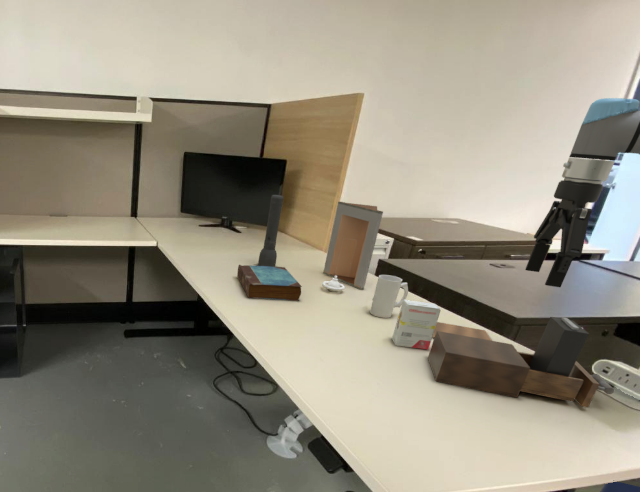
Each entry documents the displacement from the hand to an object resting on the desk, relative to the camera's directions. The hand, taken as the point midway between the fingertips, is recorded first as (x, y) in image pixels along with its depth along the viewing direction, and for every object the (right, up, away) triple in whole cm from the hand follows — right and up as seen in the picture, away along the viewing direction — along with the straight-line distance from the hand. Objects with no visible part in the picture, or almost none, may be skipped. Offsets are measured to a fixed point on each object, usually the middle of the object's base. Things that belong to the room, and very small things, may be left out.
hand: (541, 278), depth 107 cm
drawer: (+1, -25, 0) cm, 25 cm away
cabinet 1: (-16, +9, +74) cm, 76 cm away
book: (-52, +4, +57) cm, 77 cm away
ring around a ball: (-28, +4, +60) cm, 66 cm away
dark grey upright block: (0, -24, 0) cm, 24 cm away
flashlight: (-47, +16, +84) cm, 98 cm away
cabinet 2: (-14, -23, +5) cm, 27 cm away
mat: (-1, -13, +29) cm, 32 cm away
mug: (-18, -6, +41) cm, 45 cm away
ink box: (-20, -16, +20) cm, 33 cm away
